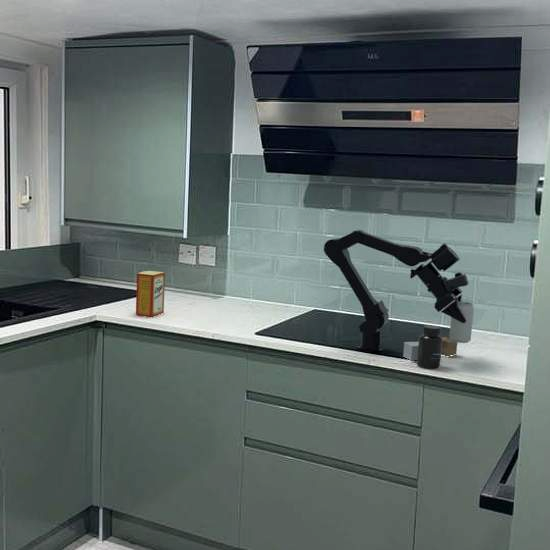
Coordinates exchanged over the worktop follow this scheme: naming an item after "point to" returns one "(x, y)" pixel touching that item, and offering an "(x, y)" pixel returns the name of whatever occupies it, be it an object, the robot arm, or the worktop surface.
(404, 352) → the grey plastic block
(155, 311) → the baking soda box
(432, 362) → the supplement bottle
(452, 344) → the walnut block
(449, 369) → the worktop surface
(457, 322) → the beverage can
